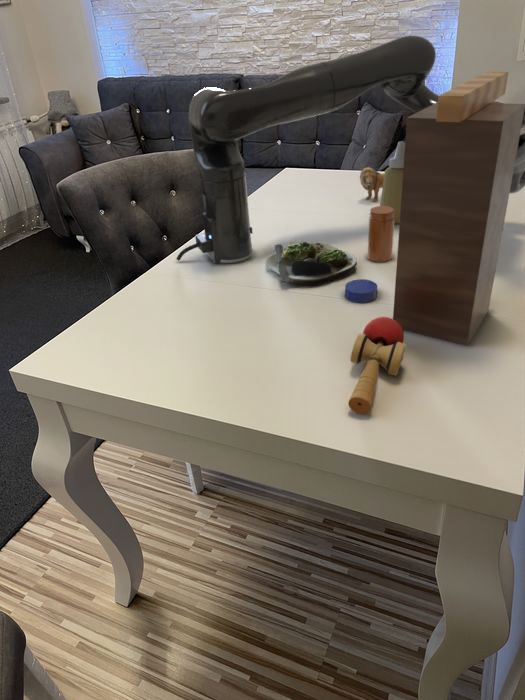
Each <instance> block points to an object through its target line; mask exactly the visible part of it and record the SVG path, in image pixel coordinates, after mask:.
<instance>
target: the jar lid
mask: <svg viewBox="0 0 525 700" xmlns="http://www.w3.org/2000/svg"><path fill="white" fill-rule="evenodd" d="M344 297H345V298H346V299H347V300H348V301H350V302H353V303H359V304H364V303H370V302H373V301H374V300H376V299H377V297H378V284H377V283H376V282H375V281H373V280H370V279H366V278H365V279H361V278H357V279H353V280H349V281H348V282H346V284H345V286H344Z"/></svg>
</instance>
